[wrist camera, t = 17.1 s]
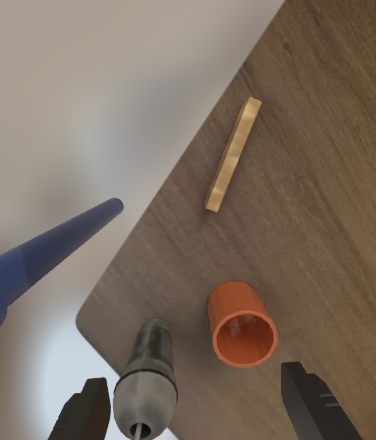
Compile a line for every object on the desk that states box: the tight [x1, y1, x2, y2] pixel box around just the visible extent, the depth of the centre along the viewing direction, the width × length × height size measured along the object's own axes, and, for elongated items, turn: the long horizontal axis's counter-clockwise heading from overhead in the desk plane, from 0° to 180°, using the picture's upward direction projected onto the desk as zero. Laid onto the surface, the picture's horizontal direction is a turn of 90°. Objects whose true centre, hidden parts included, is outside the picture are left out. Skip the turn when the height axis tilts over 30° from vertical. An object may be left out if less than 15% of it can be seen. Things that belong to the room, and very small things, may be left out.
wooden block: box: [204, 97, 262, 212], centre depth 33 cm, size 2×4×14 cm
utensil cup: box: [207, 281, 277, 368], centre depth 36 cm, size 8×8×8 cm
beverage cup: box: [113, 318, 178, 440], centre depth 31 cm, size 7×7×20 cm
